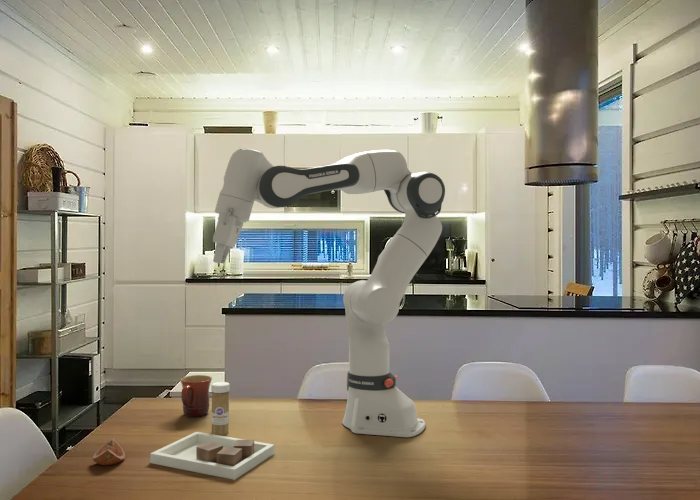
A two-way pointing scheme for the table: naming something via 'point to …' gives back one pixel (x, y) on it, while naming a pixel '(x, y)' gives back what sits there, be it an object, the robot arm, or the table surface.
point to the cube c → (245, 447)
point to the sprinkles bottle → (220, 408)
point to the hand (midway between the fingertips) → (218, 262)
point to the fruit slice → (109, 453)
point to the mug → (195, 395)
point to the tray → (185, 459)
